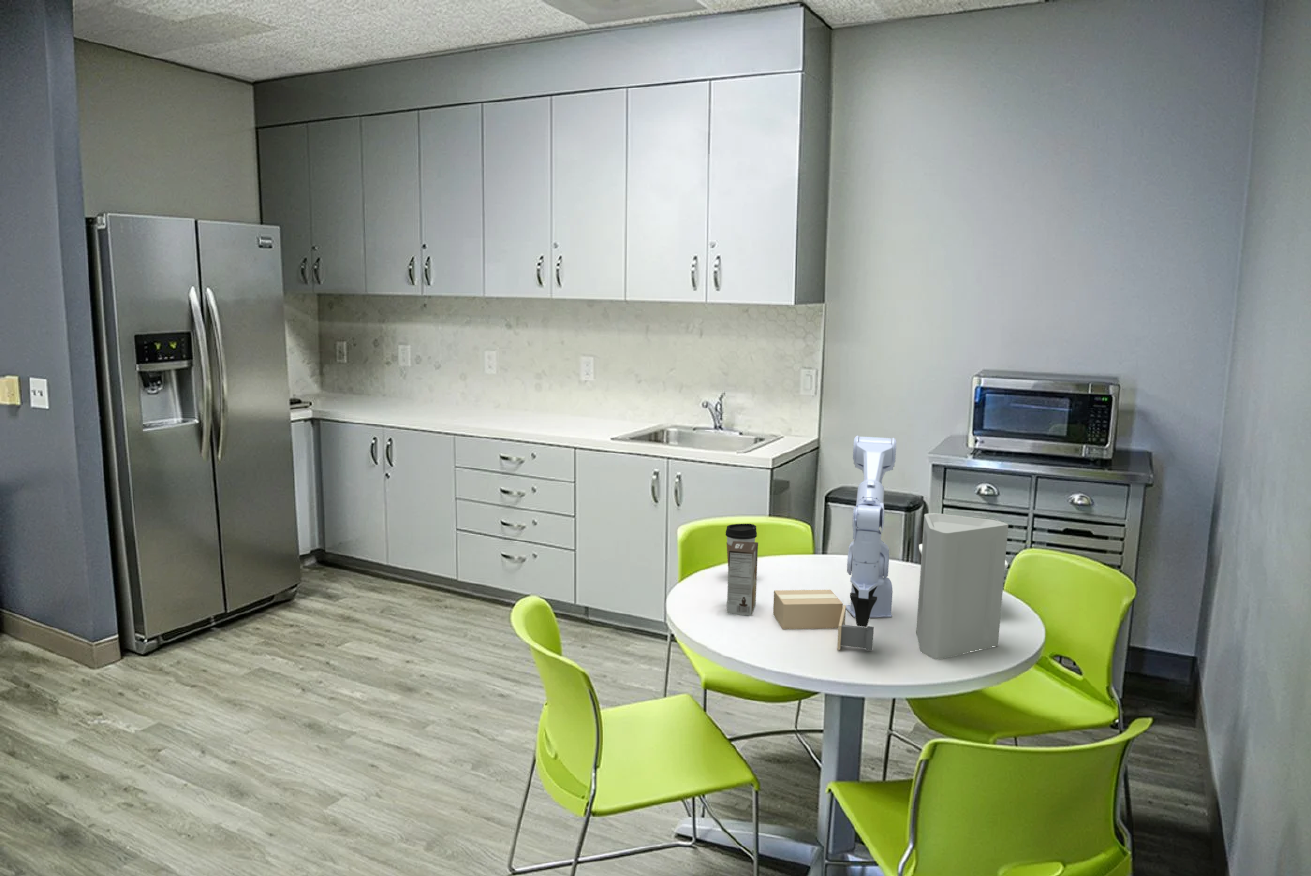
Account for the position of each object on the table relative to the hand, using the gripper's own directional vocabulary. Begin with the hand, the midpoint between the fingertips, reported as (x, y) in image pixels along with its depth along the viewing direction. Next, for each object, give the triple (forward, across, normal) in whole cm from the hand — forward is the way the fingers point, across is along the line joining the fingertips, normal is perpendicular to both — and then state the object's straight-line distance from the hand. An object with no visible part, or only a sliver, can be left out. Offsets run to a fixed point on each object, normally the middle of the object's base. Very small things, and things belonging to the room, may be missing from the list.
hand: (862, 619), depth 202 cm
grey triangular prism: (+7, +11, -18) cm, 22 cm away
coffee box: (+7, +18, +29) cm, 35 cm away
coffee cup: (+7, +41, +33) cm, 54 cm away
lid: (+7, +5, +1) cm, 8 cm away
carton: (+7, +15, +13) cm, 21 cm away
